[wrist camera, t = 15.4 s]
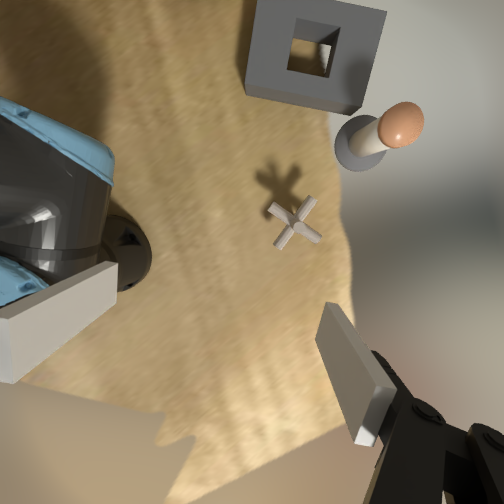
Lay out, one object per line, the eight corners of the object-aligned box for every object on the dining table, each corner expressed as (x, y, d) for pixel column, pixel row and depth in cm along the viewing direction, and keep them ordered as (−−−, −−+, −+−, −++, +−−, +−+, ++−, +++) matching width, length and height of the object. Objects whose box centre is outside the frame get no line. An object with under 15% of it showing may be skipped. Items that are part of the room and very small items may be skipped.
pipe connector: (285, 181, 43) (292, 178, 34) (328, 212, 44) (347, 218, 35) (254, 226, 46) (252, 236, 36) (295, 255, 47) (305, 272, 37)
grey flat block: (246, 95, 40) (244, 83, 36) (259, 9, 37) (259, -16, 33) (350, 115, 40) (361, 106, 36) (372, 32, 37) (387, 11, 33)
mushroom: (343, 156, 42) (376, 142, 30) (351, 125, 40) (389, 98, 29) (371, 161, 42) (415, 150, 30) (380, 130, 40) (430, 106, 29)
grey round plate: (328, 166, 42) (329, 166, 42) (342, 110, 40) (343, 110, 40) (377, 176, 43) (378, 175, 42) (394, 121, 40) (395, 120, 40)
